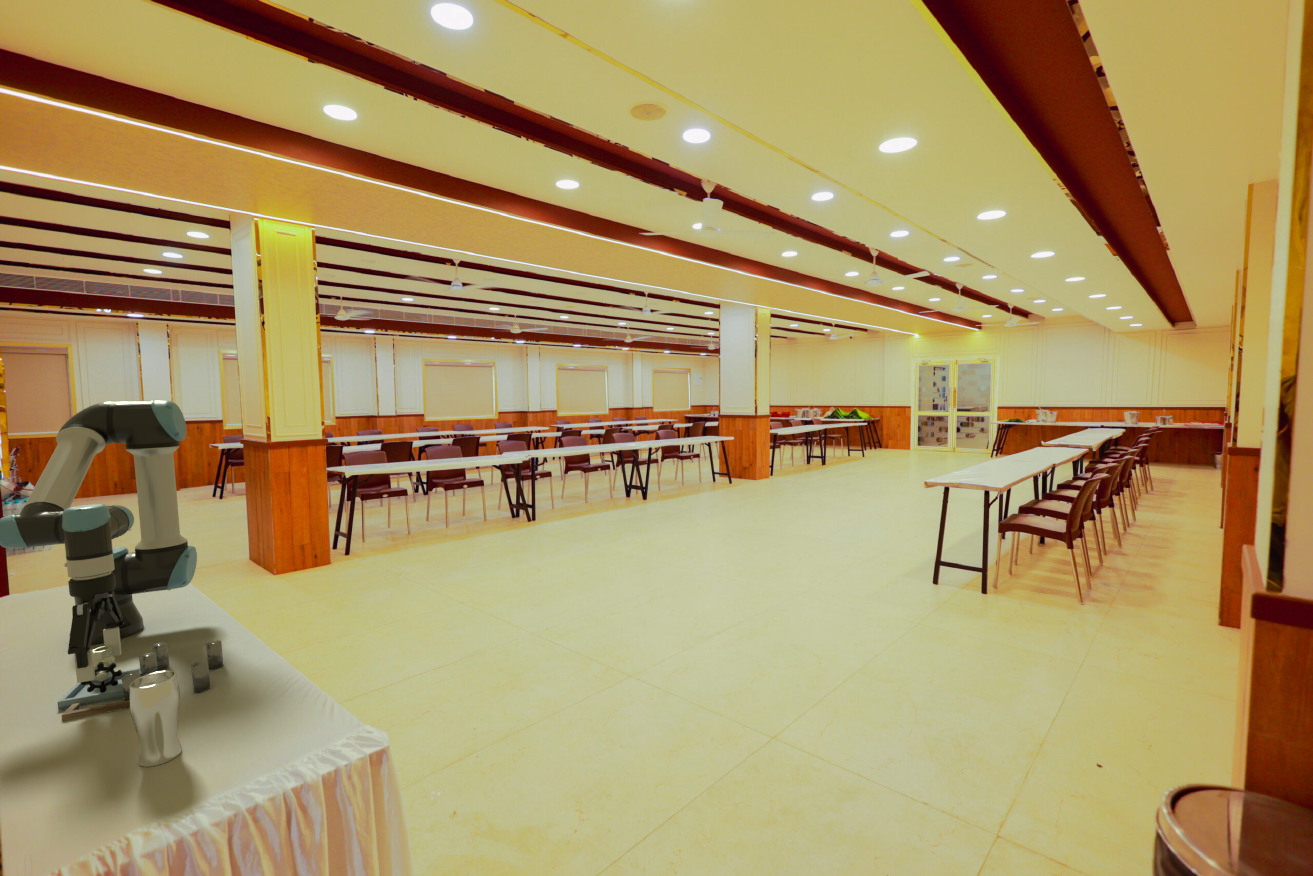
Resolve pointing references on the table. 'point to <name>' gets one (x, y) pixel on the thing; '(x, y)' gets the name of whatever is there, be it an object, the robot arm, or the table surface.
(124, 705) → the hook tool
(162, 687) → the beer glass
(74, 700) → the tray
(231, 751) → the table surface
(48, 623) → the table surface
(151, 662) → the spacers
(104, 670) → the valve
